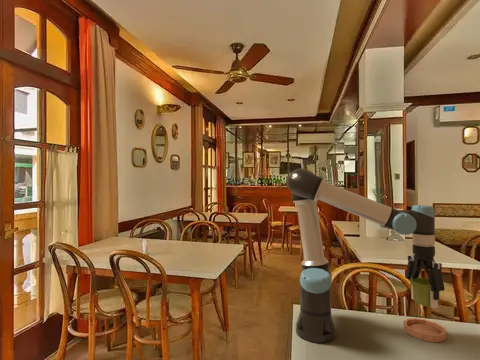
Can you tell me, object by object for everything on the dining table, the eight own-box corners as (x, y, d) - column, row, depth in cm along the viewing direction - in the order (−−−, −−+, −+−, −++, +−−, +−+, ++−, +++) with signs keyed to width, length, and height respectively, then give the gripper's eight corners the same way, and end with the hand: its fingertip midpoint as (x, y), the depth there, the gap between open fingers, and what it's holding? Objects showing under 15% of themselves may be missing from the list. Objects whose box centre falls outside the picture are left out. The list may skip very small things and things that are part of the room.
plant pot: (443, 309, 109) (443, 286, 109) (415, 307, 111) (415, 284, 111) (432, 300, 118) (431, 278, 118) (406, 298, 120) (406, 276, 120)
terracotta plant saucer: (406, 337, 111) (406, 330, 111) (401, 321, 124) (401, 315, 124) (450, 345, 105) (450, 338, 105) (441, 328, 118) (441, 322, 118)
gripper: (456, 249, 106) (457, 313, 105) (410, 239, 126) (411, 292, 126) (439, 250, 104) (440, 315, 103) (395, 240, 124) (396, 294, 124)
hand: (424, 303), depth 115 cm, fingers closed on plant pot, 8 cm apart
